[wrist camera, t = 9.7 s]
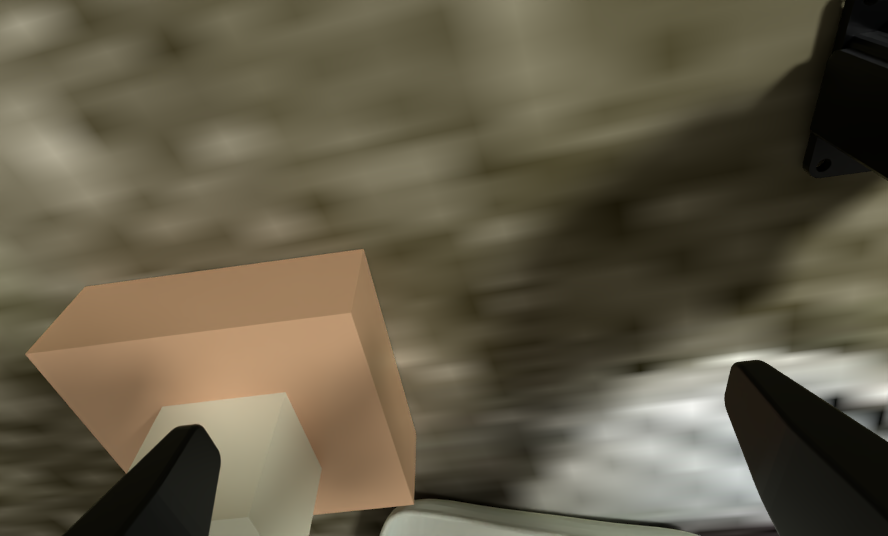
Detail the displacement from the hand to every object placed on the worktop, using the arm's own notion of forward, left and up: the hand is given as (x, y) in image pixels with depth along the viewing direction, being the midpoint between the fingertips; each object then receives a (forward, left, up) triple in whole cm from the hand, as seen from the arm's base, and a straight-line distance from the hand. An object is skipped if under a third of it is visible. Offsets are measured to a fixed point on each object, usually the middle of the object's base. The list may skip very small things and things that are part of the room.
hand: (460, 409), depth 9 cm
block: (+10, +10, -8) cm, 16 cm away
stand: (+10, +10, -12) cm, 19 cm away
